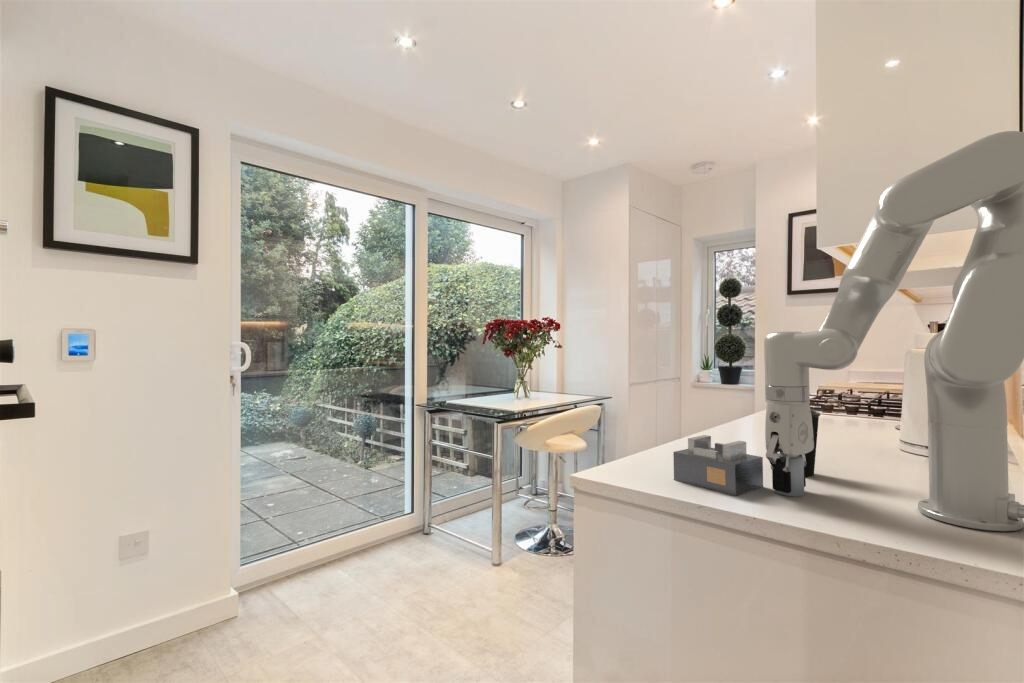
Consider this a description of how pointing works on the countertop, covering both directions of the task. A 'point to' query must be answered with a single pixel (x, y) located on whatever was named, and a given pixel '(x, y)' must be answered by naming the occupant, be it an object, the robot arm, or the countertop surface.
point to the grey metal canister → (795, 476)
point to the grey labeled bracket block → (718, 466)
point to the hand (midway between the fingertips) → (789, 487)
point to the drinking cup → (811, 455)
